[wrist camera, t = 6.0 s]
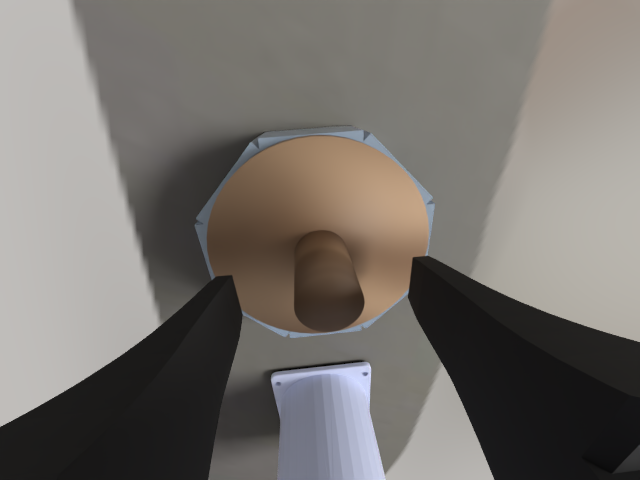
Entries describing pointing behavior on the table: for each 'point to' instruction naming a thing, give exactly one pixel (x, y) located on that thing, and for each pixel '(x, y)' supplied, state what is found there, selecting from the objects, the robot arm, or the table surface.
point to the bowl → (278, 136)
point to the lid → (317, 233)
